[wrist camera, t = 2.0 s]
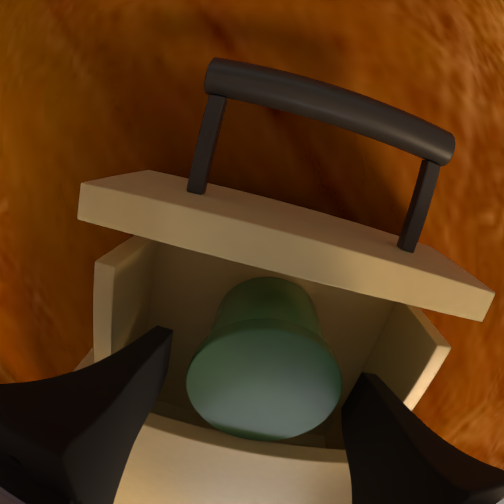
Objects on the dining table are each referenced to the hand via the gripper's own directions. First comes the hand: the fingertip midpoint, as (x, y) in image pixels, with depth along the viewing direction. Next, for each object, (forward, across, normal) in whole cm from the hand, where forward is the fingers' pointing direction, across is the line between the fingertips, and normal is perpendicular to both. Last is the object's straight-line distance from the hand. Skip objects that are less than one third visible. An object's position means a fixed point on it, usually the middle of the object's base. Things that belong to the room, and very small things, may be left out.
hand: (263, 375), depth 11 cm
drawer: (+5, 0, -1) cm, 5 cm away
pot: (+4, 0, 0) cm, 4 cm away
